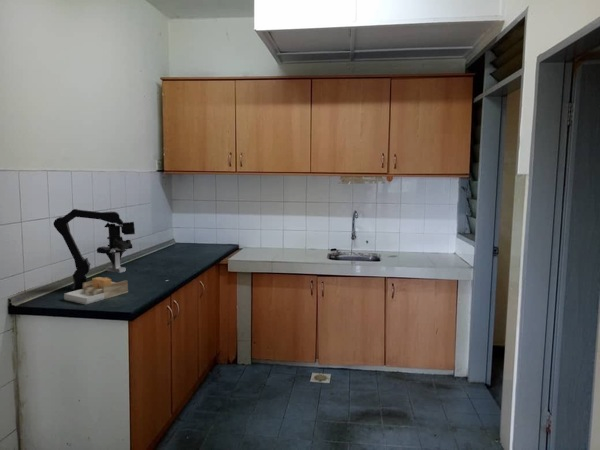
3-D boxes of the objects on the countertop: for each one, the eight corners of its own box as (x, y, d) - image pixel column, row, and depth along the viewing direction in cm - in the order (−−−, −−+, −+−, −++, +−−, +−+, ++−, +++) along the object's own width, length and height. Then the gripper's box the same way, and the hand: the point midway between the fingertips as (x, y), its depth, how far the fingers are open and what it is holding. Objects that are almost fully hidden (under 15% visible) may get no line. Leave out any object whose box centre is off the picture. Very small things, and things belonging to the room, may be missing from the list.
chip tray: (64, 299, 208) (63, 293, 207) (83, 294, 216) (82, 288, 216) (85, 304, 200) (85, 298, 200) (104, 299, 209) (104, 293, 209)
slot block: (83, 294, 216) (82, 282, 216) (107, 288, 229) (106, 277, 228) (104, 299, 209) (103, 287, 208) (128, 292, 221) (127, 280, 220)
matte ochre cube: (92, 286, 217) (92, 278, 216) (99, 284, 220) (99, 276, 220) (97, 287, 215) (97, 279, 215) (104, 285, 219) (104, 277, 218)
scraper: (106, 270, 234) (105, 252, 233) (112, 269, 238) (112, 251, 236) (119, 272, 230) (118, 254, 228) (125, 271, 233) (124, 253, 232)
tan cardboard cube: (99, 287, 215) (98, 279, 214) (106, 285, 218) (105, 278, 218) (104, 288, 213) (104, 280, 212) (111, 286, 216) (111, 279, 216)
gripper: (110, 238, 219) (111, 268, 221) (139, 234, 236) (140, 262, 238) (95, 237, 224) (96, 266, 226) (124, 232, 241) (125, 259, 243)
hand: (115, 263), depth 233 cm, fingers closed on scraper, 3 cm apart
